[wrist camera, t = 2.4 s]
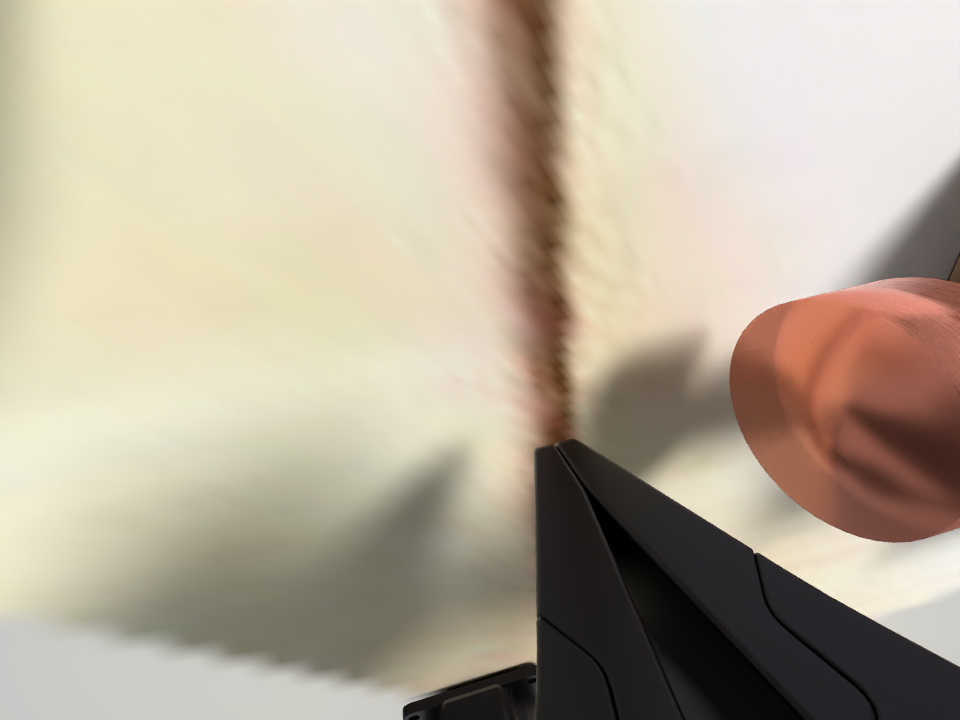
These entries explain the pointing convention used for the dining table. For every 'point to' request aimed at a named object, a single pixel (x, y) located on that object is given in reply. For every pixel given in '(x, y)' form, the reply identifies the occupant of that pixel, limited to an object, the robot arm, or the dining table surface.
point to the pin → (859, 405)
